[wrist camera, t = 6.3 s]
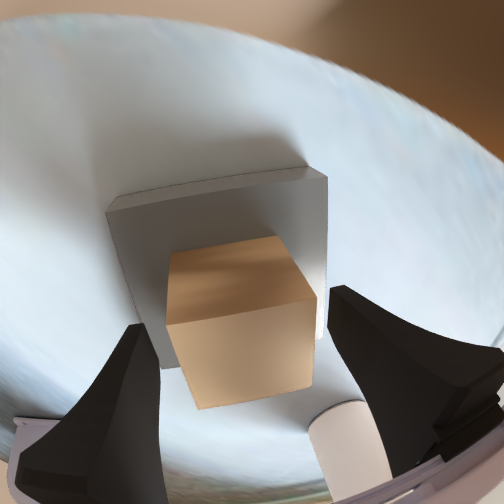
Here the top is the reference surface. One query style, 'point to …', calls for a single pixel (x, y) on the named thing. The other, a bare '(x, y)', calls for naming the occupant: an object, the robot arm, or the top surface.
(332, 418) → the can
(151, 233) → the slate base
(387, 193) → the top surface
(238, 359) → the oak block
